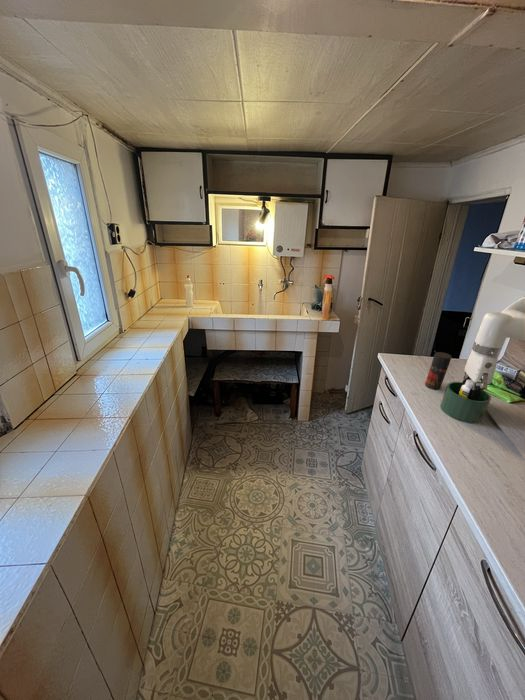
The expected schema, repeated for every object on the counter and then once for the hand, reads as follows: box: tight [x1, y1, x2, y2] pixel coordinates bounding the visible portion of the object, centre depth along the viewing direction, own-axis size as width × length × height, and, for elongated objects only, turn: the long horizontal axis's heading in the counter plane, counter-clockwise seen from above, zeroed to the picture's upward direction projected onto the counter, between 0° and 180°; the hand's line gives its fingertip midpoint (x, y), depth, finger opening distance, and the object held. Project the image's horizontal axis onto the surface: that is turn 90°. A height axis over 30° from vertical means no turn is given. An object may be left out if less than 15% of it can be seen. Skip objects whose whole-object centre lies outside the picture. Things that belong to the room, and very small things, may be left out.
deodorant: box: [424, 351, 452, 391], centre depth 118 cm, size 6×6×15 cm
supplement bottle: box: [458, 380, 480, 401], centre depth 102 cm, size 5×5×10 cm
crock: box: [439, 381, 492, 424], centre depth 104 cm, size 13×13×9 cm
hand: (468, 393), depth 102 cm, fingers closed on supplement bottle, 5 cm apart
